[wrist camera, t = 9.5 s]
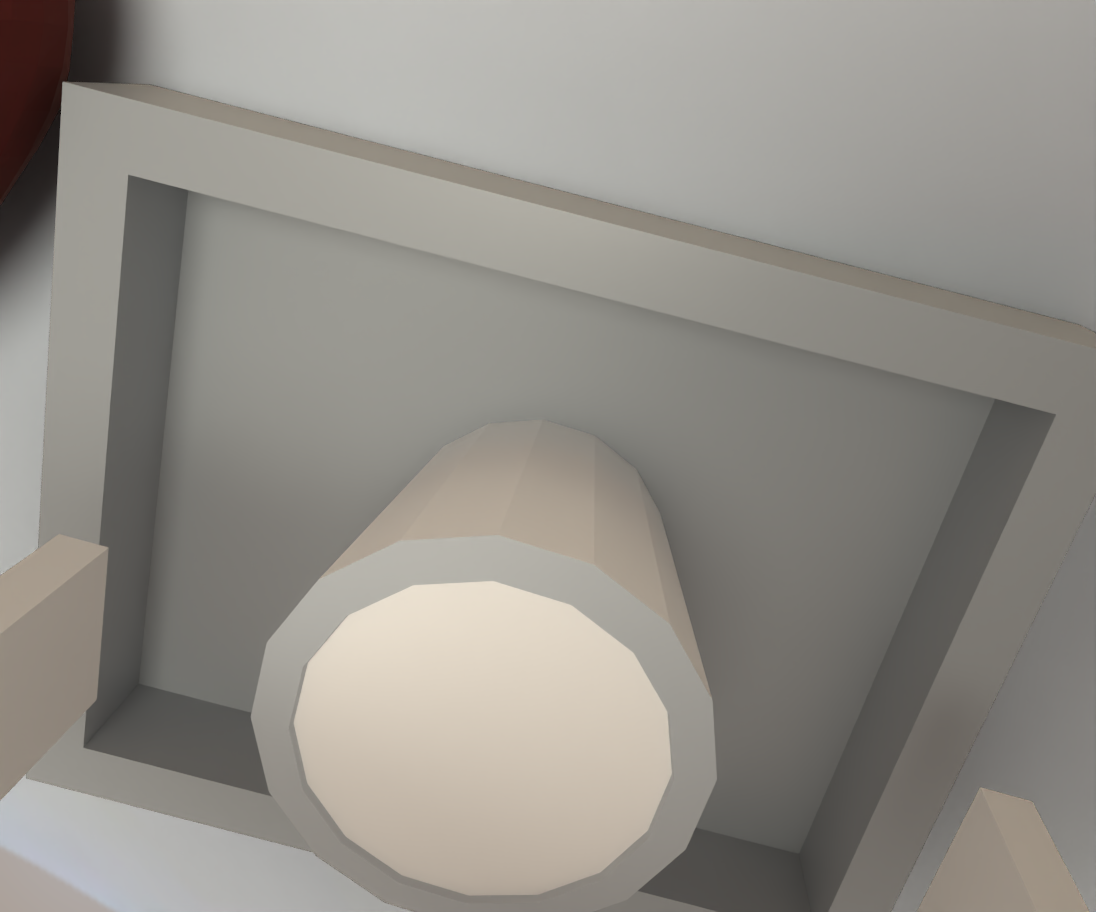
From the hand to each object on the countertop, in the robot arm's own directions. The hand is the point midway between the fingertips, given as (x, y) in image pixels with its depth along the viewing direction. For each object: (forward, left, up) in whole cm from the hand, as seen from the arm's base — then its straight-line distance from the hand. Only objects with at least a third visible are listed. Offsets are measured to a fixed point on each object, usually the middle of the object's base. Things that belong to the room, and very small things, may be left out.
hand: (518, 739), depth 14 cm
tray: (+1, 0, -7) cm, 7 cm away
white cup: (0, 0, -7) cm, 7 cm away
